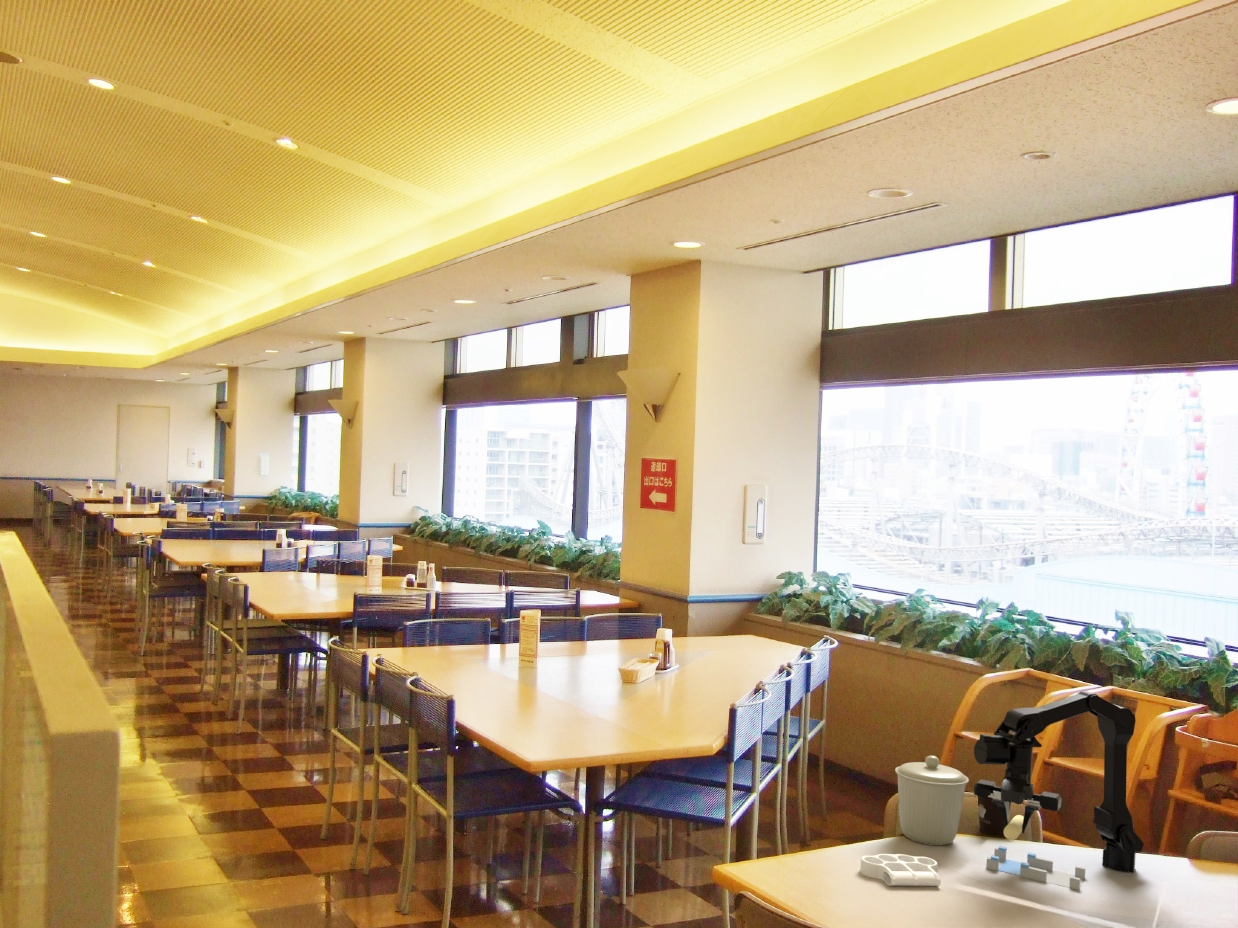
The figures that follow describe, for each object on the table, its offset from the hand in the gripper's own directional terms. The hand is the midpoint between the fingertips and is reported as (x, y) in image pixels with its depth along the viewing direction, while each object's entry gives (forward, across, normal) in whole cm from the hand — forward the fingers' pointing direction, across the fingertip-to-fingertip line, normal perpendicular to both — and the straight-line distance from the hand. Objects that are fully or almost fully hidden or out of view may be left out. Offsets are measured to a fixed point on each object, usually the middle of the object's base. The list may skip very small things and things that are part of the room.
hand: (1015, 831), depth 244 cm
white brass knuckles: (+10, -20, -22) cm, 31 cm away
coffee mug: (+10, -11, +31) cm, 34 cm away
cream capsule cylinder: (+1, 0, 0) cm, 1 cm away
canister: (+10, -23, +10) cm, 27 cm away
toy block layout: (+9, +5, 0) cm, 11 cm away
